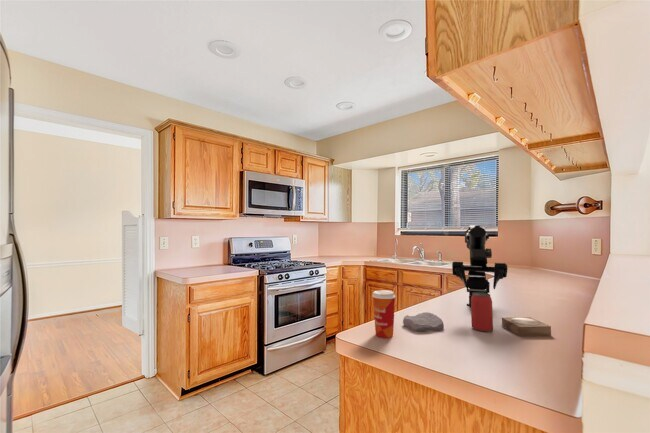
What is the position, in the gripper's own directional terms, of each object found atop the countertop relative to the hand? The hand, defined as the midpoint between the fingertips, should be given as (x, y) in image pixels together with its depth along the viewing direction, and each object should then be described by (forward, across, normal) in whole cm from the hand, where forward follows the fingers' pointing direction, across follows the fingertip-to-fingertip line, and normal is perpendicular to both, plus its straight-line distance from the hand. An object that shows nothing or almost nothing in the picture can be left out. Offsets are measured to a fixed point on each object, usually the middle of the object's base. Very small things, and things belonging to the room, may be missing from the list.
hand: (480, 287), depth 113 cm
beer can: (+14, 0, +4) cm, 15 cm away
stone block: (+18, -18, +1) cm, 26 cm away
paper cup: (+27, -30, -8) cm, 41 cm away
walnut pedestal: (+12, +13, +6) cm, 19 cm away
